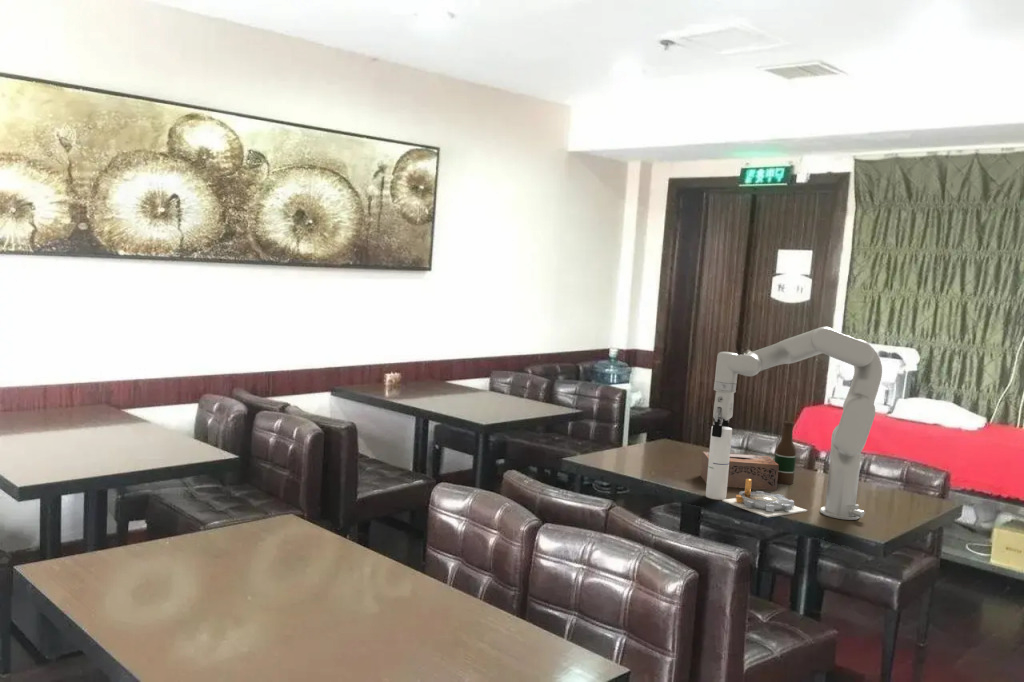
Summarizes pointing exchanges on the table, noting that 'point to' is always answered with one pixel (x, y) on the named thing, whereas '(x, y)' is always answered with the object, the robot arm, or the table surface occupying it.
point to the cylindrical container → (719, 464)
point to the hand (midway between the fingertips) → (719, 434)
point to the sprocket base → (764, 512)
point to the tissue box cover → (747, 471)
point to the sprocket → (763, 499)
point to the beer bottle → (786, 455)
